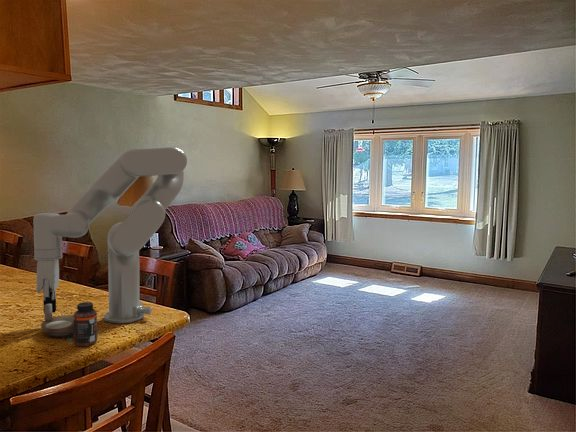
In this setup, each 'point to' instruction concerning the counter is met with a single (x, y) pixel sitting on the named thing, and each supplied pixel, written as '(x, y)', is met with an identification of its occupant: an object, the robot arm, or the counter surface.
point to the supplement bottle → (85, 325)
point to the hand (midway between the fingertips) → (50, 311)
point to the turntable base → (62, 336)
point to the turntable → (57, 322)
